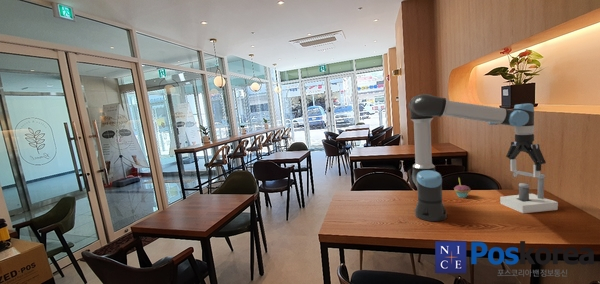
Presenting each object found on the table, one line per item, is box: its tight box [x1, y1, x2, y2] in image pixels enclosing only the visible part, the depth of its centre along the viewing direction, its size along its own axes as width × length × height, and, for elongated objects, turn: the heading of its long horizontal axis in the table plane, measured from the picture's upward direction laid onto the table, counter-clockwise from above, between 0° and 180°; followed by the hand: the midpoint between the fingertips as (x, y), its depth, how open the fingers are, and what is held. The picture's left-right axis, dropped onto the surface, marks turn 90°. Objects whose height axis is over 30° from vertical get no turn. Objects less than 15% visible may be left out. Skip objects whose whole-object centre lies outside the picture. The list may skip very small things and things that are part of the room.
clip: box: [512, 170, 546, 180], centre depth 140 cm, size 15×3×4 cm, turn 15°
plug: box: [518, 182, 530, 202], centre depth 135 cm, size 4×4×12 cm
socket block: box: [499, 178, 559, 214], centre depth 135 cm, size 18×14×15 cm
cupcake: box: [453, 177, 471, 199], centre depth 158 cm, size 9×8×12 cm
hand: (524, 173), depth 134 cm, fingers open, 13 cm apart
